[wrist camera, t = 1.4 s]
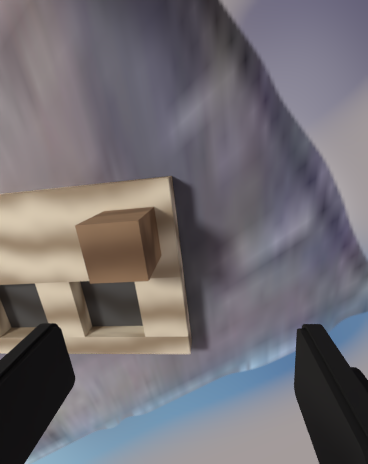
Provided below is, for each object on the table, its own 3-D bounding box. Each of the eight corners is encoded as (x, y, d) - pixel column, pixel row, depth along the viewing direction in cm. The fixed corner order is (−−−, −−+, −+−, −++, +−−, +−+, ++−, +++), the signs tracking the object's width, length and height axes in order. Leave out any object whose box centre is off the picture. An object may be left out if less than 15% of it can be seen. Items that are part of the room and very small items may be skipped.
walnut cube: (104, 211, 26) (74, 225, 21) (154, 206, 25) (138, 220, 20) (114, 258, 28) (90, 283, 22) (161, 255, 27) (148, 281, 22)
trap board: (-93, 203, 32) (-118, 207, 29) (171, 176, 27) (168, 177, 24) (-28, 341, 39) (-43, 353, 37) (191, 340, 34) (190, 354, 31)
